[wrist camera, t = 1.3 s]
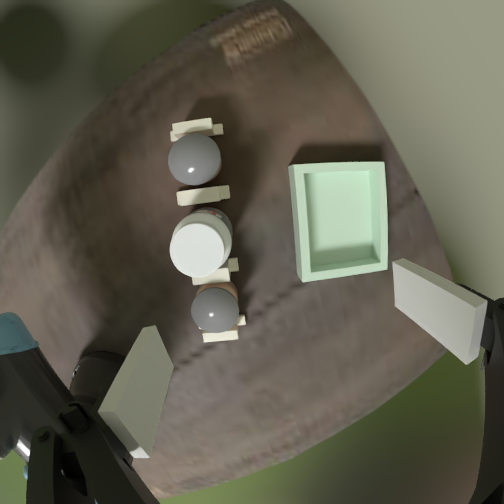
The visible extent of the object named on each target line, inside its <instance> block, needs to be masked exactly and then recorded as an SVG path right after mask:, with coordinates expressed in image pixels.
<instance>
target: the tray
mask: <svg viewBox="0 0 504 504" xmlns="http://www.w3.org/2000/svg"><path fill="white" fill-rule="evenodd" d="M288 169H289V179H290V189H291V200H292V212H293V224H294V236H295V250H296V265H297V275H298V276H299V278H300V279H301V281H302V282H308V281H315V280H322V279H329V278H336V277H342V276H349V275H356V274H362V273H368V272H375V271H381V270H387V256H388V222H387V195H386V179H385V167H384V162H336V163H312V164H295V165H291V166H288Z"/></svg>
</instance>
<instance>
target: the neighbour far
mask: <svg viewBox="0 0 504 504" xmlns="http://www.w3.org/2000/svg"><path fill="white" fill-rule="evenodd" d="M191 315H192V318H193V320H194V322H195V323H196V324H197V325H198V326H199V327H200V328H201V329H203V330H205V331H207V332H211V333H222V332H225V331H227V330H229V329H231V328H232V327H233V326H234V325H235V324H236V322H237V320H238V317H239V305H238V292H237V289H236V287H235V285H234V284H233V282H232V281H228V282H219V283H209V284H200V286H199V288H198V291H197V294H196V296H195V298H194V300H193V303H192V306H191Z"/></svg>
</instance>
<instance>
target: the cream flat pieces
mask: <svg viewBox="0 0 504 504" xmlns="http://www.w3.org/2000/svg"><path fill="white" fill-rule="evenodd" d="M172 125H173V131H170V134H171V141H172V142H175V141H177V140H178V139H180V138H181V137H183V136H185V135H187V134H192V133H199V134H203V135H206V136H214V135H222V134H223V125H222V124H214V125H213V122H212V119H211V118H205V119H198V120H192V121H186V122H180V123H174V124H172ZM229 198H230V191H229V185H226V186H216V187H208V188H200V189H193V190H186V191H179V192H177V200H178V205H181V206H185V205H192V204H200V203H207V202H215V201H220V200H221V199H229ZM233 271H239V267H238V259H237V257H235V258H227V260H226V261H225V262H224V264H223V265H221V266H220V267H219V268H218V269H217V270H216V271H215V272H214V273H212V274H210V275H208V276H205V277H192V282H193V285H200V284H209V283H219V282H228V281H230V272H233ZM238 325H246V322H245V315H244V314H242V315H239V317H238V320H237V322H236V324H235V325H234V326H233V327H232V328H231V329H229V330H227V331H225V332H222V333H211V332H207V331H205V330H203V333H202V334H203V339H204V342H213V341H224V340H234V339H238ZM199 329H201V328H200V327H199Z"/></svg>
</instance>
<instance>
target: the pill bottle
mask: <svg viewBox="0 0 504 504" xmlns="http://www.w3.org/2000/svg"><path fill="white" fill-rule="evenodd" d="M232 235H233V230H232V225H231V222H230V220H229V218H228V217H227V216H226V214H224V213H223V212H222V211H220V210H219V209H216V208H213V207H203V208H199V209H197V210H195V211H193V212H192V213H191V214H189V215H188V216H186V217H185V218H184V219H182V220H181V221H180V222H179V223H178V225H177V226H176V228H175V230H174V232H173V236H172V240H171V244H170V256H171V259H172V261H173V263H174V265H175V266H176V267H177V269H178V270H179V271H181V272H182V273H184V274H185V275H188V276H191V277H205V276H208V275H210V274H212V273H214V272H215V271H216V270H217V269H218V268H219V267H220V266H221V265H223V264H224V262H225V261H226V260H227V258H228V256H229V254H230V251H231V247H232Z"/></svg>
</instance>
